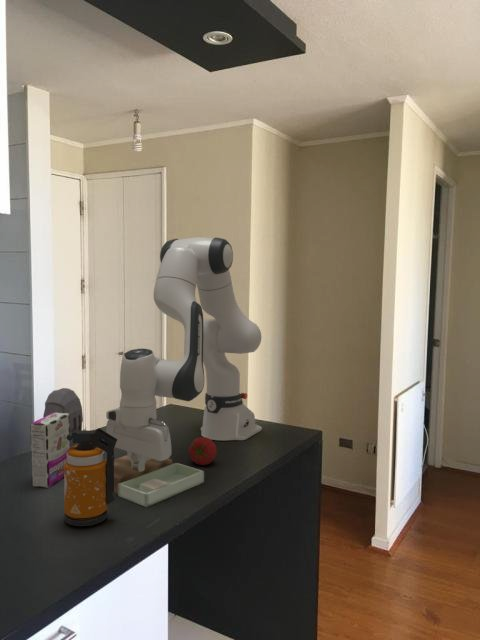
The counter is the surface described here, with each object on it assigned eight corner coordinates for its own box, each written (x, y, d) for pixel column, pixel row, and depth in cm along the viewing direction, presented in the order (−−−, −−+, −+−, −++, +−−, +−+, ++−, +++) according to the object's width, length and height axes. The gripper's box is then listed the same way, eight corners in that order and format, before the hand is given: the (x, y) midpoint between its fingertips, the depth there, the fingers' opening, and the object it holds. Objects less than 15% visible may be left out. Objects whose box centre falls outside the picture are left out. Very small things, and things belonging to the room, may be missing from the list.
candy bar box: (54, 471, 148) (53, 411, 146) (71, 473, 147) (70, 413, 145) (30, 486, 137) (29, 422, 135) (48, 488, 136) (47, 423, 134)
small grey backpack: (65, 446, 169) (64, 382, 168) (90, 448, 168) (90, 384, 166) (39, 462, 155) (38, 392, 153) (66, 464, 153) (65, 394, 152)
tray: (176, 473, 148) (176, 462, 147) (204, 482, 141) (204, 471, 141) (117, 496, 132) (117, 484, 132) (146, 507, 126) (146, 494, 125)
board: (141, 464, 154) (141, 450, 154) (172, 474, 147) (172, 459, 147) (89, 482, 140) (88, 467, 140) (119, 494, 133) (119, 478, 133)
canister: (70, 511, 123) (69, 424, 121) (119, 510, 124) (119, 423, 122) (59, 529, 114) (58, 435, 113) (113, 528, 115) (113, 435, 113)
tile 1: (169, 483, 133) (169, 493, 133) (155, 478, 136) (155, 488, 136) (154, 489, 129) (154, 499, 129) (139, 484, 132) (139, 494, 132)
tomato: (207, 430, 159) (196, 432, 152) (225, 449, 157) (215, 452, 149) (190, 449, 160) (178, 452, 153) (207, 469, 158) (196, 473, 150)
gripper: (177, 420, 131) (177, 476, 132) (121, 406, 143) (121, 458, 144) (158, 425, 126) (158, 483, 127) (101, 411, 138) (102, 464, 139)
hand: (138, 470), depth 136 cm, fingers closed
